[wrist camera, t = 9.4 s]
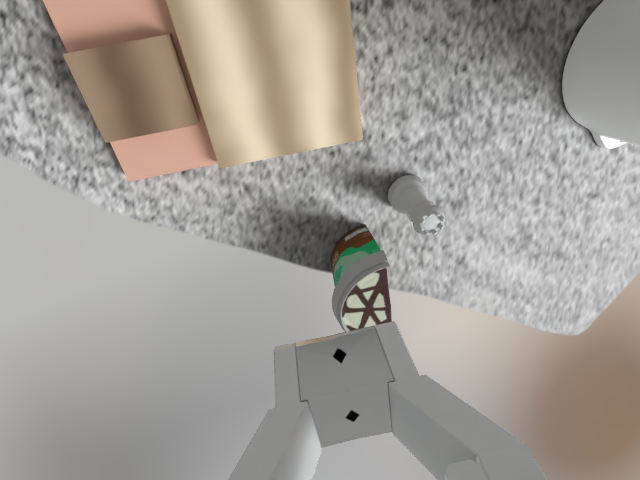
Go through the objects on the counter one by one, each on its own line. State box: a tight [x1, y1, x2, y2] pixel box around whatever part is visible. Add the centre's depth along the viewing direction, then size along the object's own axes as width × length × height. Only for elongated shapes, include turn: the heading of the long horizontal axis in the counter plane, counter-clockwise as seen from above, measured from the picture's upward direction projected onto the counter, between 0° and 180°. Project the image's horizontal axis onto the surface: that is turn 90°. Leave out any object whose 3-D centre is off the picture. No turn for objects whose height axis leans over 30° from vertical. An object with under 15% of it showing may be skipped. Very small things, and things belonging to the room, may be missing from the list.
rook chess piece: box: [388, 175, 445, 236], centre depth 39 cm, size 4×4×8 cm
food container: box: [331, 225, 392, 332], centre depth 42 cm, size 12×6×10 cm, turn 10°
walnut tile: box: [62, 34, 199, 143], centre depth 31 cm, size 8×7×2 cm
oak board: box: [166, 0, 363, 168], centre depth 32 cm, size 14×16×3 cm
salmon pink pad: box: [43, 0, 218, 182], centre depth 32 cm, size 9×16×2 cm, turn 9°
